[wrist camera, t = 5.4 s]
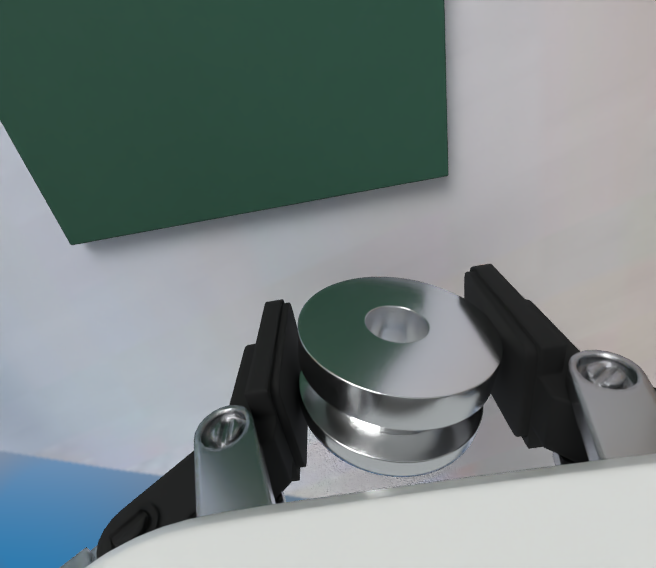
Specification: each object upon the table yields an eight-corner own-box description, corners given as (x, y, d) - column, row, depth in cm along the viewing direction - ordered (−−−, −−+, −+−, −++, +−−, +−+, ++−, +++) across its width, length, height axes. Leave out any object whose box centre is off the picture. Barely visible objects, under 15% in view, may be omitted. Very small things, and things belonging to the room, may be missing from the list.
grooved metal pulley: (460, 277, 11) (548, 398, 7) (443, 350, 13) (507, 488, 9) (301, 275, 11) (291, 398, 7) (302, 350, 13) (294, 490, 8)
